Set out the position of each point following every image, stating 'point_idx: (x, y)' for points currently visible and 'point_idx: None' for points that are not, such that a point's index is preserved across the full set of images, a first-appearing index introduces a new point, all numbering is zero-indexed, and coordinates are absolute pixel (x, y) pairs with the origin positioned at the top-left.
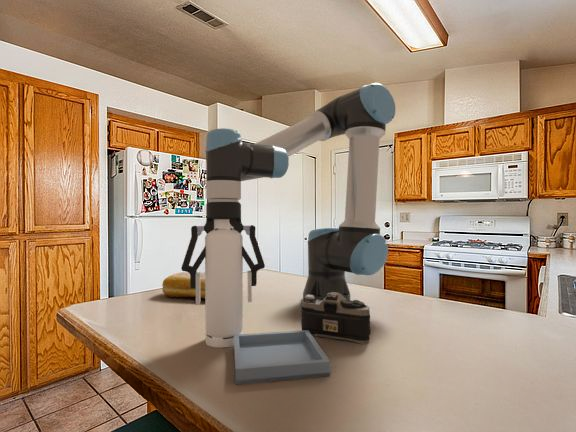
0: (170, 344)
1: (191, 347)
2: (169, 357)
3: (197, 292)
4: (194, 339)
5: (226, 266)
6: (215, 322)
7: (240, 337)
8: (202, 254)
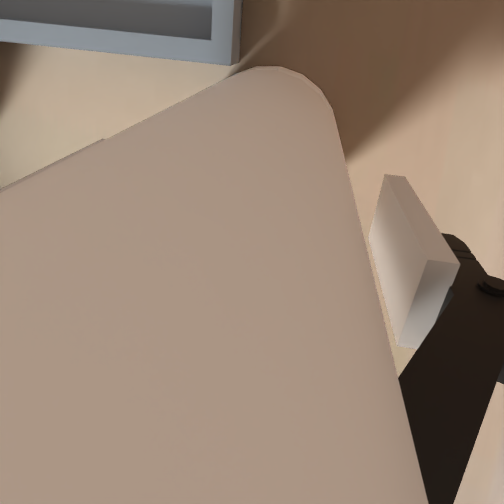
0: (466, 161)
1: (395, 105)
2: (496, 20)
3: (409, 200)
4: (372, 184)
5: (160, 136)
6: (305, 89)
7: (205, 40)
8: (448, 404)
